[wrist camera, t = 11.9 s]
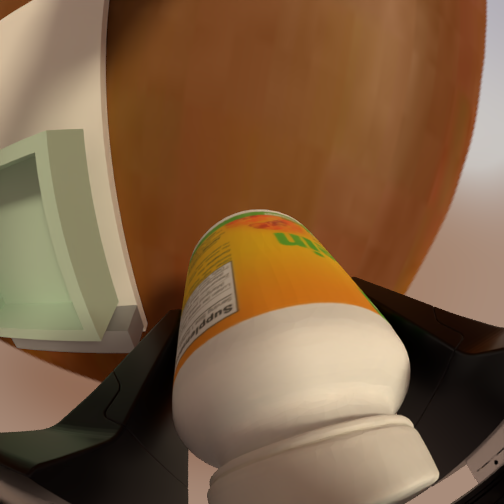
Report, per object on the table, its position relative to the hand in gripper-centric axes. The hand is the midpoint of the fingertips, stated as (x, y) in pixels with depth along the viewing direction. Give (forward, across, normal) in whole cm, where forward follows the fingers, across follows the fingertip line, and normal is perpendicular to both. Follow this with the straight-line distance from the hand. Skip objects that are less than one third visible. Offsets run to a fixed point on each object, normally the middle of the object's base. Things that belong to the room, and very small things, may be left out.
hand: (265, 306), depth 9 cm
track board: (+10, +14, -7) cm, 18 cm away
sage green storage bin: (+9, +14, -3) cm, 17 cm away
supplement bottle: (+3, 0, 0) cm, 3 cm away
